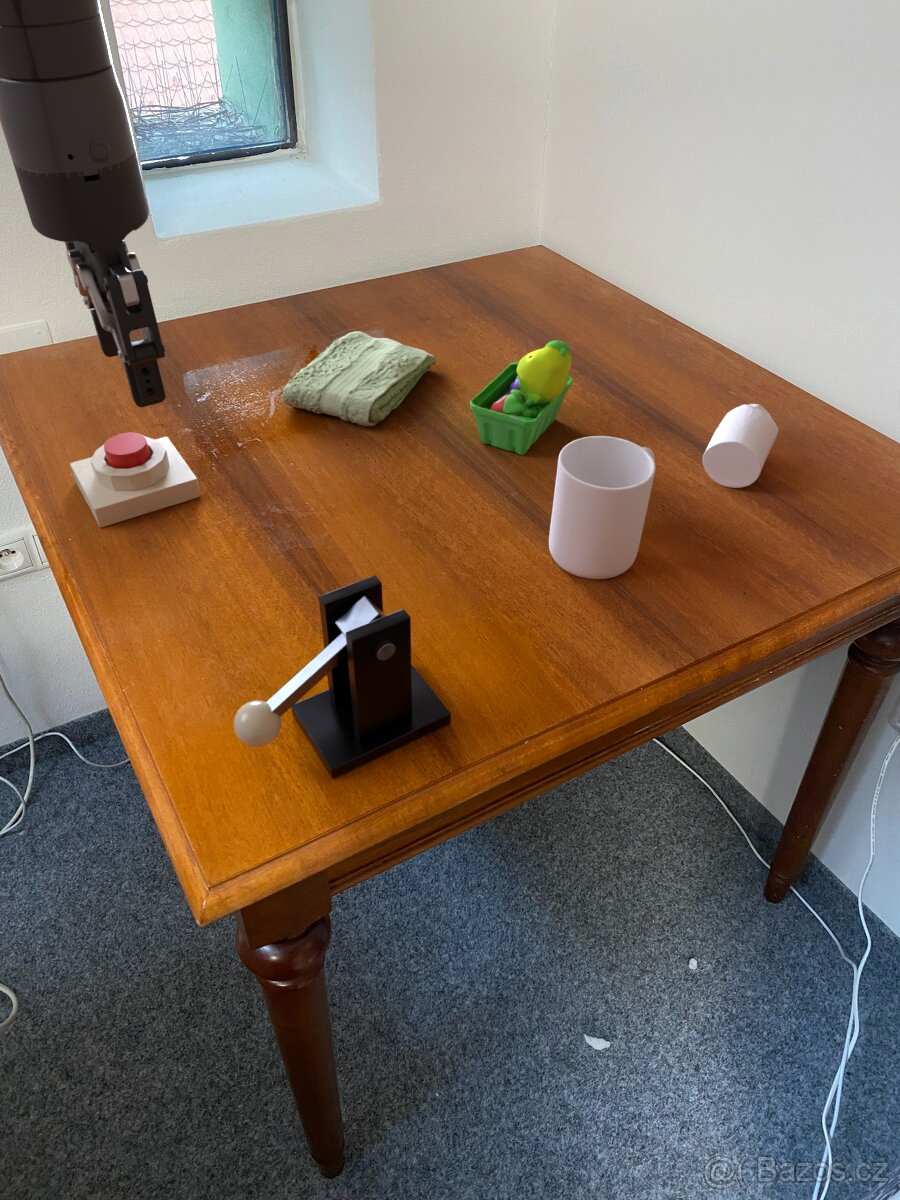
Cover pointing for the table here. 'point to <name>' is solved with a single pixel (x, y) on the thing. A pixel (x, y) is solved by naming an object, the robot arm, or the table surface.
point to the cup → (600, 505)
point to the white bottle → (740, 446)
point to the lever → (300, 681)
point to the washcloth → (358, 378)
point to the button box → (135, 483)
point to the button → (127, 450)
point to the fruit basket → (523, 398)
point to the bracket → (368, 688)
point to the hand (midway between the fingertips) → (133, 377)
